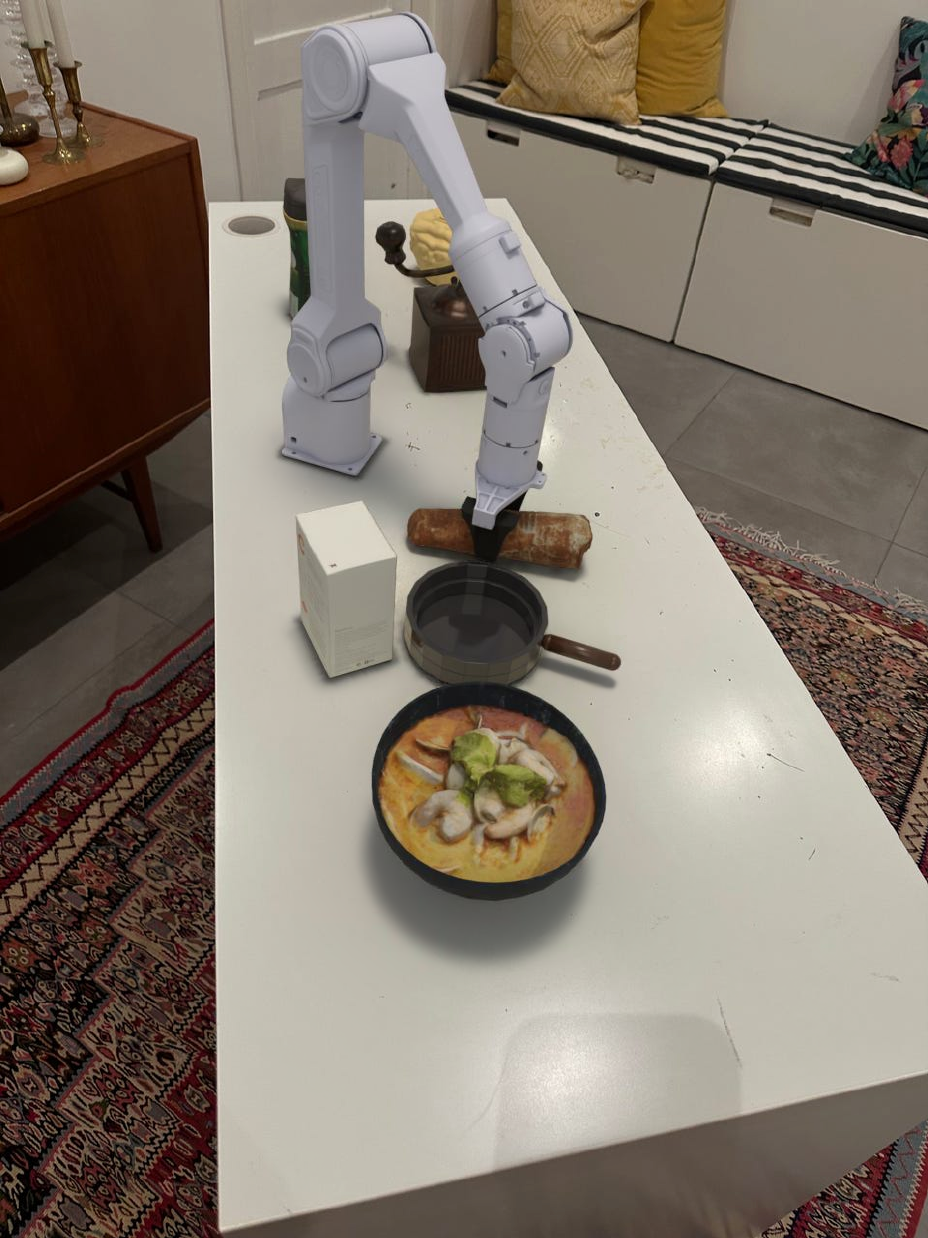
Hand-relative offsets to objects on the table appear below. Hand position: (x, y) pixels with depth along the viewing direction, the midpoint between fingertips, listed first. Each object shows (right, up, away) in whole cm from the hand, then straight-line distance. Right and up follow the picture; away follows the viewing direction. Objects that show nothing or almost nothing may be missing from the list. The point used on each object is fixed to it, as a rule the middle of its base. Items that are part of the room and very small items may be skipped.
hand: (495, 539), depth 91 cm
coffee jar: (-23, +34, +32) cm, 52 cm away
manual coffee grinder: (-7, +25, +25) cm, 36 cm away
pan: (-2, -10, -8) cm, 13 cm away
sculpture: (-5, +44, +44) cm, 62 cm away
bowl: (-2, -26, -22) cm, 34 cm away
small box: (-14, -11, -10) cm, 20 cm away
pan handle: (+7, -12, -11) cm, 18 cm away
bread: (0, -2, +1) cm, 2 cm away
